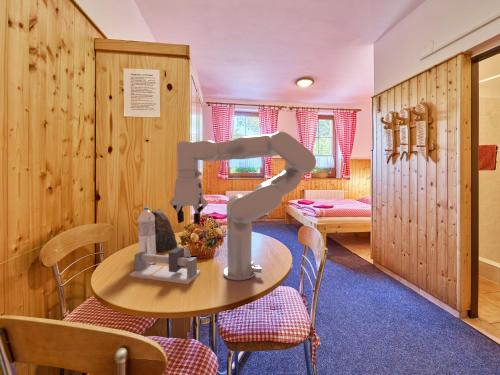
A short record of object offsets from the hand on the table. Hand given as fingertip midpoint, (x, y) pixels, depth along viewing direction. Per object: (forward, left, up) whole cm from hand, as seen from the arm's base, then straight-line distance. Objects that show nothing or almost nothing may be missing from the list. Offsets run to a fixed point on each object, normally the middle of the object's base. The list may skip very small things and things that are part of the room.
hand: (188, 222), depth 94 cm
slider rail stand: (+11, 0, -22) cm, 24 cm away
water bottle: (+25, -8, -22) cm, 34 cm away
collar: (+5, 0, -19) cm, 19 cm away
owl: (+30, -28, -22) cm, 46 cm away
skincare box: (+11, -22, -22) cm, 33 cm away
